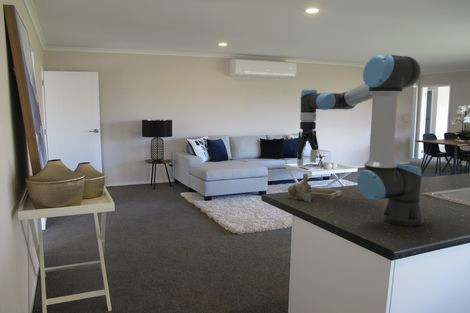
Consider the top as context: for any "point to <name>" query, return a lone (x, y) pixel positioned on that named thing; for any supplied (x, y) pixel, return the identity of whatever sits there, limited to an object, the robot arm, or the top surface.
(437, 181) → the top surface
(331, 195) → the wooden tray
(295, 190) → the rock
